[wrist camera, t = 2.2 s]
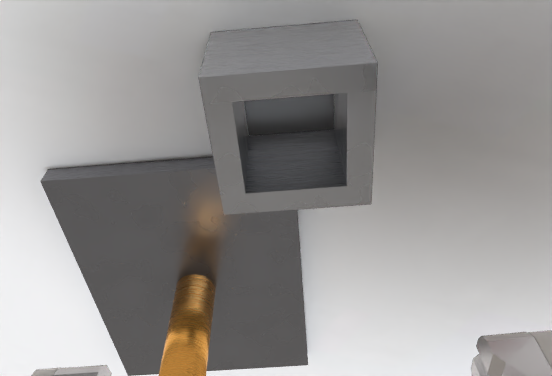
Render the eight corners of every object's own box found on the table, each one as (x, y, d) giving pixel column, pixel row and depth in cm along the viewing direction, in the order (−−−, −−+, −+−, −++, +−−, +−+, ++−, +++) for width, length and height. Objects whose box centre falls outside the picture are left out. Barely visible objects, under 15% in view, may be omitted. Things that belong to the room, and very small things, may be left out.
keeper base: (292, 150, 24) (302, 272, 17) (307, 351, 33) (316, 478, 27) (48, 169, 24) (-33, 294, 18) (131, 362, 33) (99, 490, 27)
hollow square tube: (357, 19, 20) (377, 62, 16) (355, 145, 23) (371, 204, 20) (210, 32, 20) (198, 77, 16) (230, 155, 24) (223, 214, 20)
